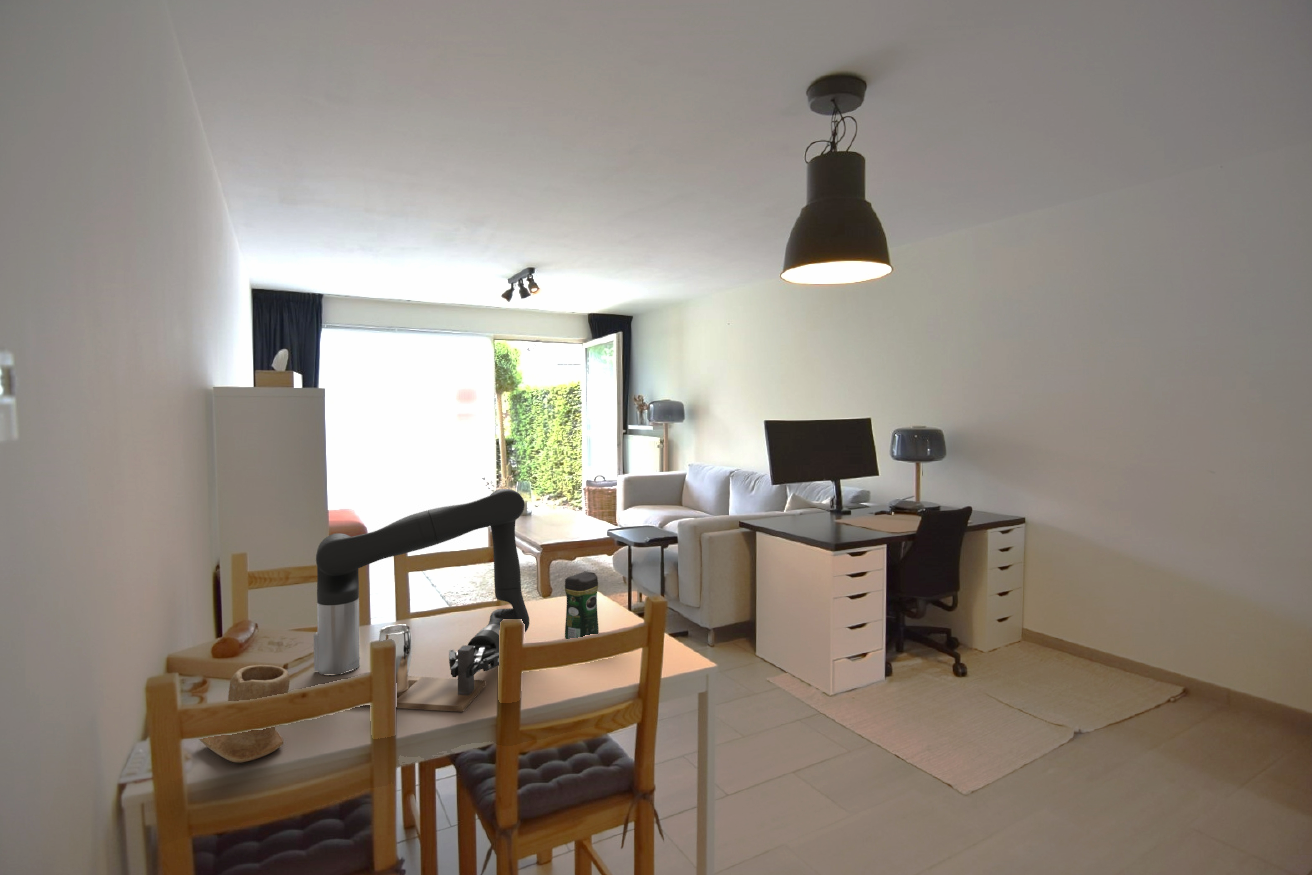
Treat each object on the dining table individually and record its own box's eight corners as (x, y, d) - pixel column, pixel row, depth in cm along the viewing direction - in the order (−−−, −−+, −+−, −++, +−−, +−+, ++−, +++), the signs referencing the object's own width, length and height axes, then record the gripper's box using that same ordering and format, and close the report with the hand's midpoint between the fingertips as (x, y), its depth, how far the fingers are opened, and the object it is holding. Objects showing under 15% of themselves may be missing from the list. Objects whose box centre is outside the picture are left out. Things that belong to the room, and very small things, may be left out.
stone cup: (302, 745, 120) (301, 668, 120) (232, 774, 110) (230, 691, 110) (265, 722, 129) (263, 650, 128) (197, 748, 119) (195, 670, 118)
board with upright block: (338, 704, 136) (337, 653, 136) (371, 679, 149) (371, 632, 149) (462, 711, 133) (462, 659, 133) (485, 685, 146) (485, 637, 146)
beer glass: (418, 690, 144) (418, 625, 143) (397, 703, 137) (397, 636, 137) (393, 685, 146) (393, 622, 146) (371, 698, 140) (371, 632, 139)
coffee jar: (581, 630, 184) (581, 567, 184) (602, 635, 180) (603, 571, 179) (559, 640, 176) (559, 575, 175) (581, 646, 172) (581, 579, 171)
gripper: (460, 628, 154) (429, 655, 137) (516, 630, 153) (491, 657, 136) (460, 658, 155) (429, 688, 138) (516, 660, 154) (491, 691, 136)
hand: (460, 673), depth 137 cm, fingers closed on board with upright block, 2 cm apart
